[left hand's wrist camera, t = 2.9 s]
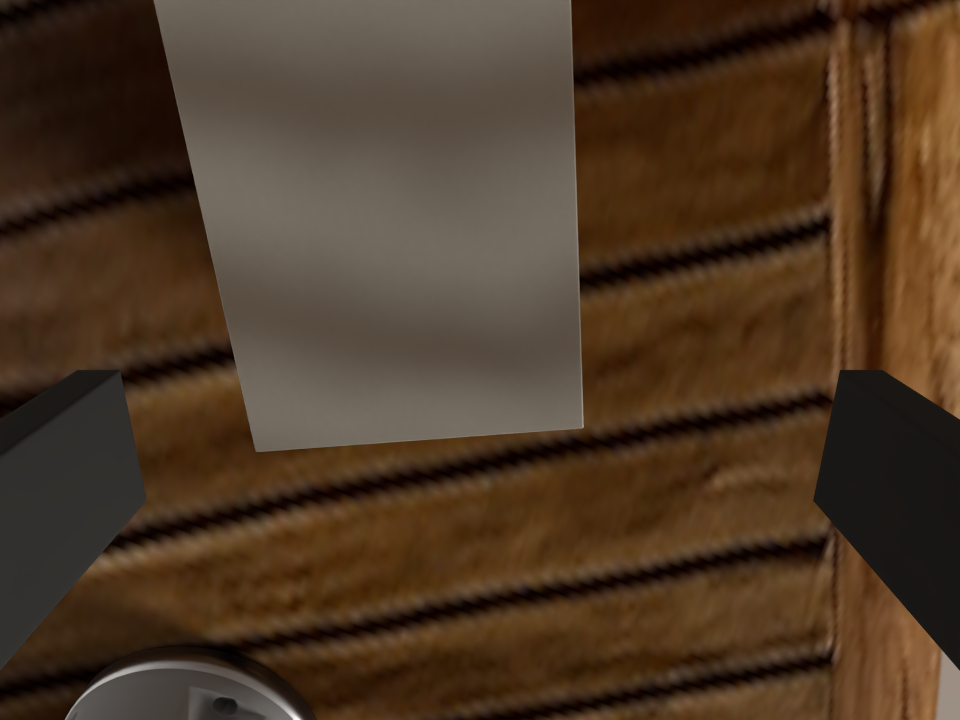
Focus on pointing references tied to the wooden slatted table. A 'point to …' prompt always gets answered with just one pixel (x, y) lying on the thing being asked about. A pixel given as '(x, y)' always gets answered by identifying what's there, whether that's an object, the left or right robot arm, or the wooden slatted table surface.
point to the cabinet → (387, 211)
